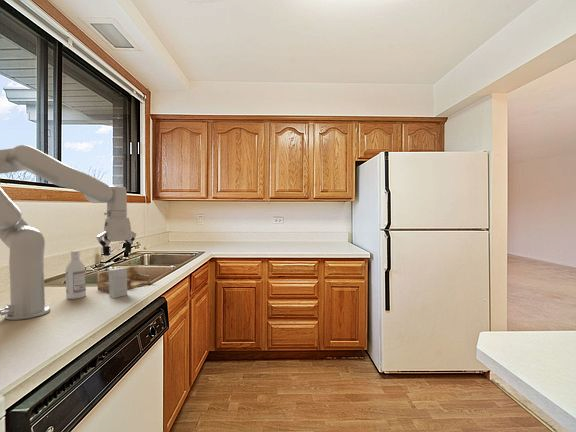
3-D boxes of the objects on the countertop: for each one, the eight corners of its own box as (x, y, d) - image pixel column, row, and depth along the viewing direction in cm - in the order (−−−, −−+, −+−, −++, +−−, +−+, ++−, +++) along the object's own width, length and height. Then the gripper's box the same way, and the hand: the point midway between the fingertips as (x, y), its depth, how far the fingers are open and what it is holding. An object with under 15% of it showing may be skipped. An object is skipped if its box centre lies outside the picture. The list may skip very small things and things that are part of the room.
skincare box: (123, 293, 141) (122, 266, 140) (127, 295, 138) (127, 268, 138) (108, 296, 136) (108, 269, 136) (112, 298, 134) (112, 270, 133)
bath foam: (89, 294, 139) (88, 249, 138) (78, 299, 132) (77, 251, 131) (73, 294, 139) (72, 249, 138) (62, 299, 132) (61, 251, 131)
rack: (111, 293, 141) (111, 275, 141) (97, 289, 147) (97, 272, 146) (150, 283, 159) (150, 267, 158) (136, 280, 164) (136, 265, 164)
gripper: (102, 215, 127) (102, 257, 127) (140, 214, 142) (141, 252, 142) (91, 215, 131) (92, 256, 131) (130, 214, 146) (130, 251, 146)
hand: (117, 254), depth 137 cm, fingers open, 9 cm apart
